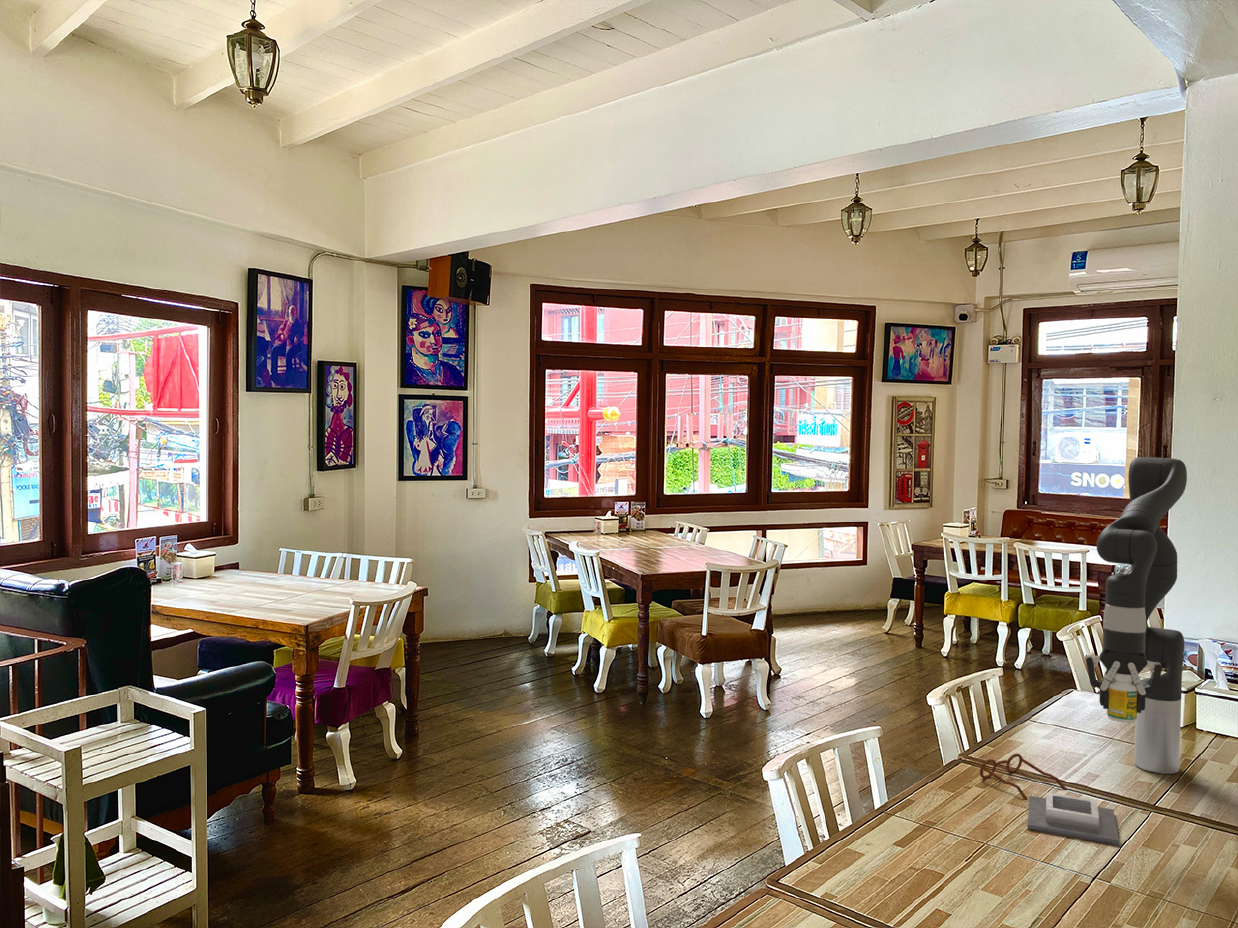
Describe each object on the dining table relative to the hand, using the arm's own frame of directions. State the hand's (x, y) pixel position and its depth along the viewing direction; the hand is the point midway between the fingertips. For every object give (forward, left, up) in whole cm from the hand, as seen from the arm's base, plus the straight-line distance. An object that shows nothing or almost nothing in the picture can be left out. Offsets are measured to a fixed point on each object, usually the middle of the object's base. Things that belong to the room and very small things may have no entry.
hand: (1121, 709), depth 184 cm
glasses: (-12, -18, -24) cm, 32 cm away
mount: (+5, -9, -23) cm, 25 cm away
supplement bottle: (0, 0, -2) cm, 2 cm away
